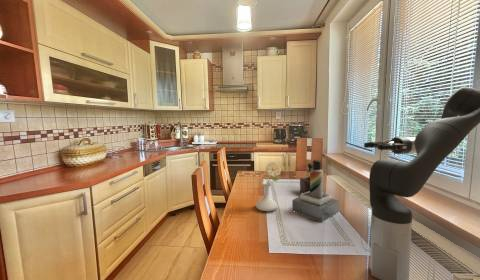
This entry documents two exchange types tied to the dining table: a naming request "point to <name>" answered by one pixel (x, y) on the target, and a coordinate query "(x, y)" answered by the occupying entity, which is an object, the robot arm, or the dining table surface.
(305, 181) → the bronze sculpture
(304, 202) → the gray square holder
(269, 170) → the flower in vase
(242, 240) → the dining table surface
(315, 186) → the lotion bottle
